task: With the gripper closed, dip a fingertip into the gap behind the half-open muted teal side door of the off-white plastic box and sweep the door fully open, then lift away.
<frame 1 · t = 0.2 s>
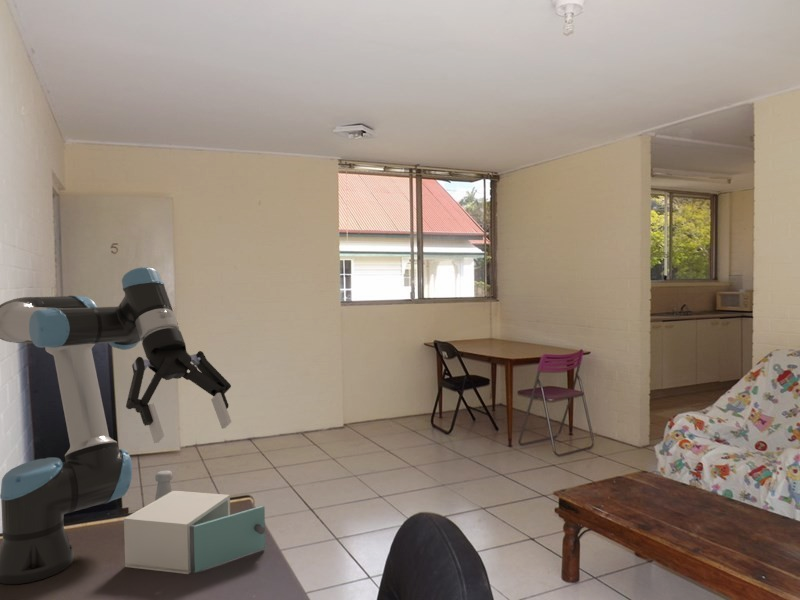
hand: (194, 432, 108), 36 cm above the table, tool tilted 35°, fingers open, 13 cm apart
storage box: (180, 552, 137), on the table
salt shaker: (165, 519, 156), on the table
side door: (230, 539, 131), point 5 cm above the table, hinge at 35.0°
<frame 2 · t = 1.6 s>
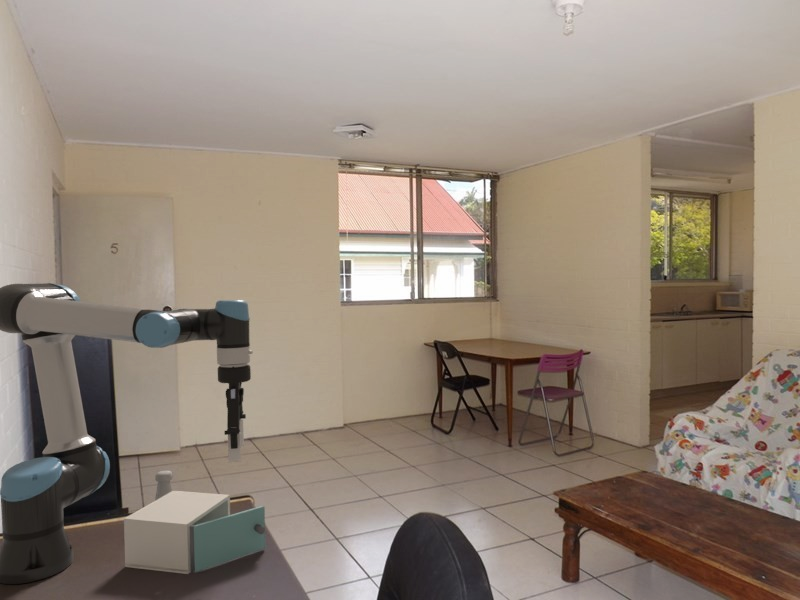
hand: (236, 453, 137), 23 cm above the table, tool pointing down, fingers open, 13 cm apart
nothing on the table moved.
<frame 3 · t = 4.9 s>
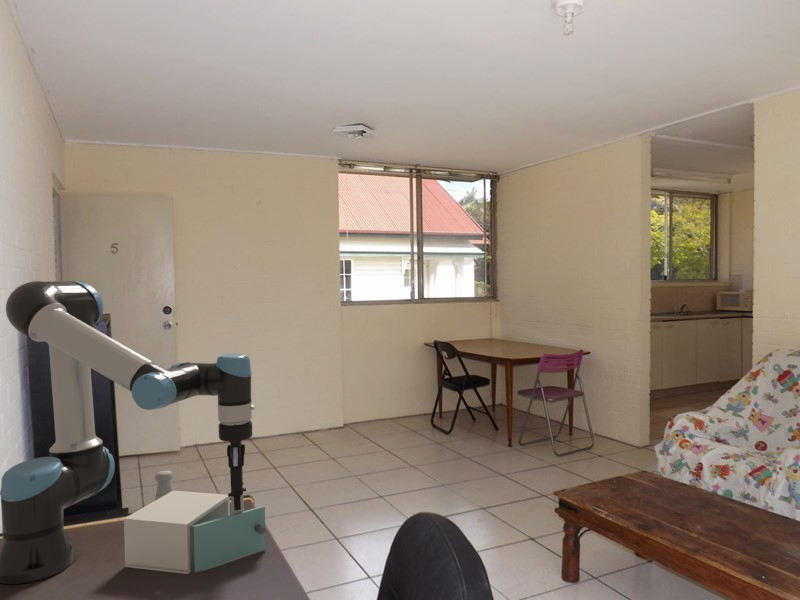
hand: (237, 521, 134), 8 cm above the table, tool pointing down, fingers closed
side door: (230, 539, 131), point 6 cm above the table, hinge at 35.7°, touching gripper
everything else where it was.
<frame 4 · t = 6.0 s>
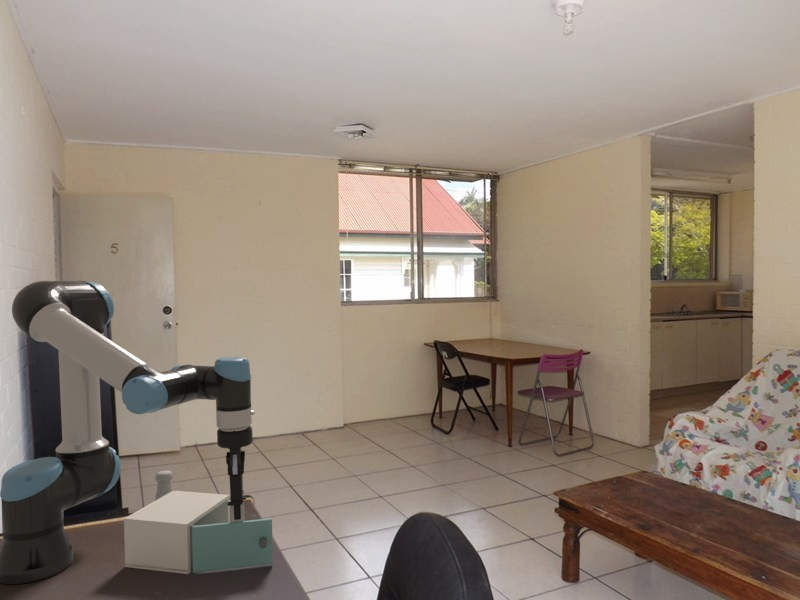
hand: (238, 531, 129), 8 cm above the table, tool pointing down, fingers closed
side door: (231, 546, 127), point 5 cm above the table, hinge at 64.3°, touching gripper
everything else where it was.
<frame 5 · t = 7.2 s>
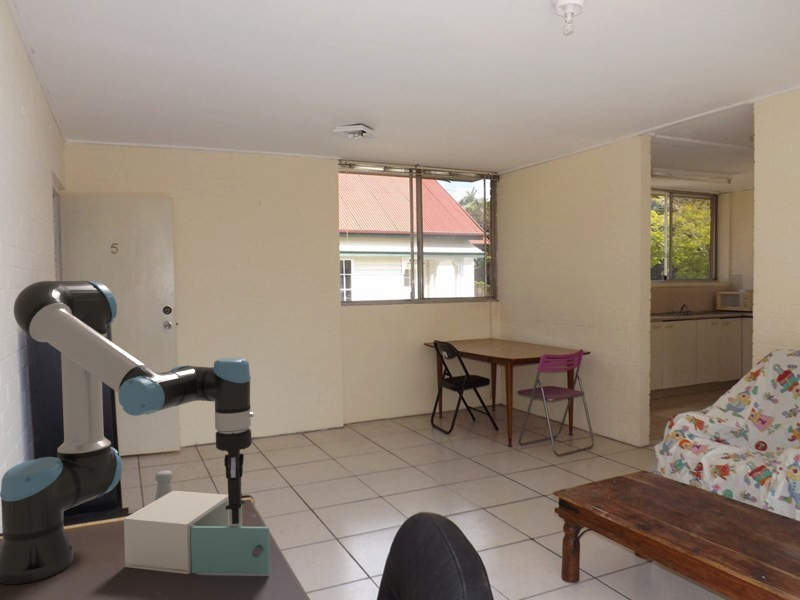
hand: (236, 535, 127), 8 cm above the table, tool pointing down, fingers closed
side door: (227, 551, 124), point 5 cm above the table, hinge at 80.0°, touching gripper
everything else where it was.
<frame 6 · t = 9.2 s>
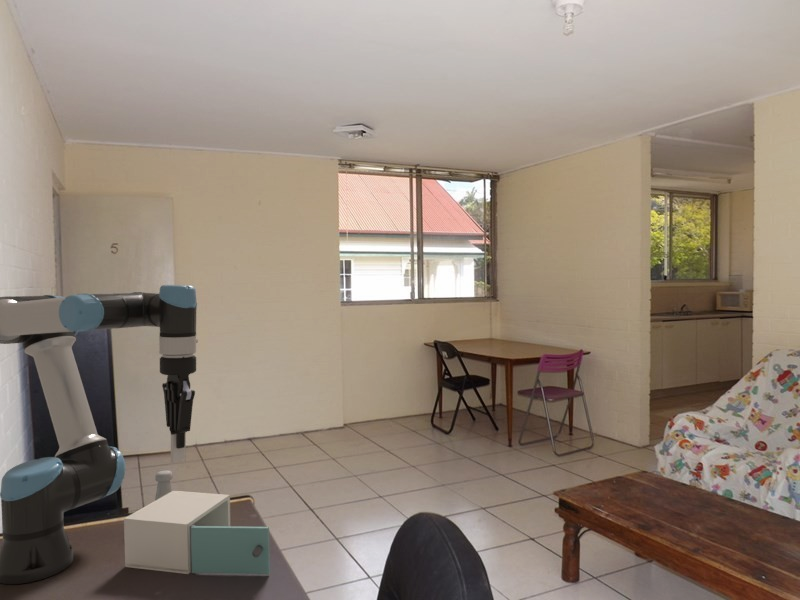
hand: (178, 461, 127), 24 cm above the table, tool pointing down, fingers closed
side door: (227, 551, 124), point 5 cm above the table, hinge at 80.0°
everything else where it was.
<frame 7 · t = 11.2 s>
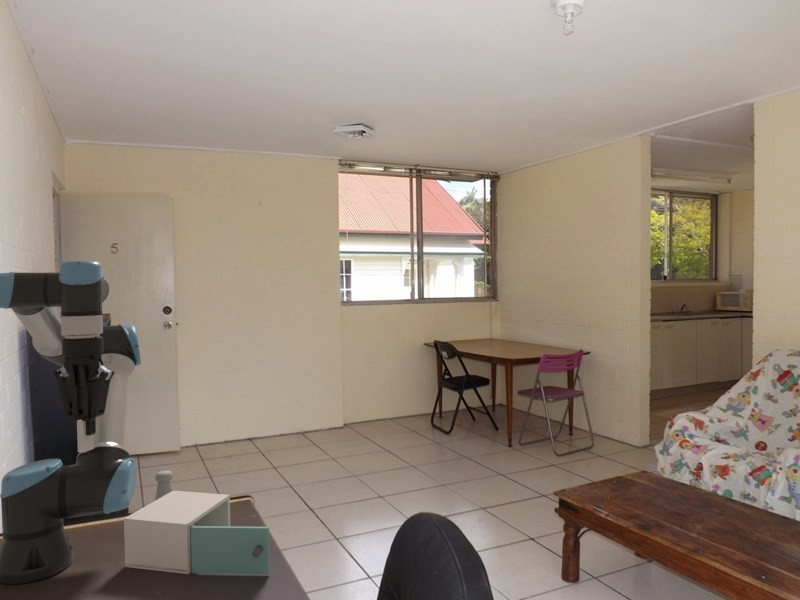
hand: (85, 450, 119), 29 cm above the table, tool pointing down, fingers closed
nothing on the table moved.
at the end: side door at +80° (first picture: +35°); salt shaker moved 0.2 cm from its start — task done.
